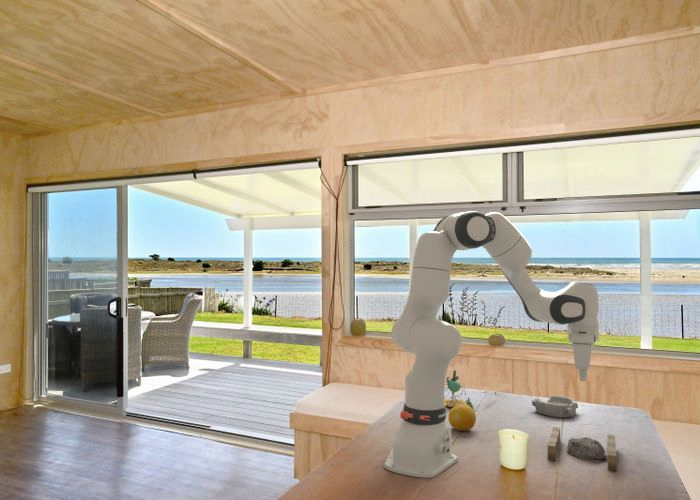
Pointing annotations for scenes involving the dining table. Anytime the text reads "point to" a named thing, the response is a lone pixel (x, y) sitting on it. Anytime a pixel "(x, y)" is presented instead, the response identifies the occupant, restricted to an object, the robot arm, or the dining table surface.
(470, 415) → the fruit
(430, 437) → the robot arm
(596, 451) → the rock
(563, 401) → the dish
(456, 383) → the green and yellow piece
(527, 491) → the dining table surface
